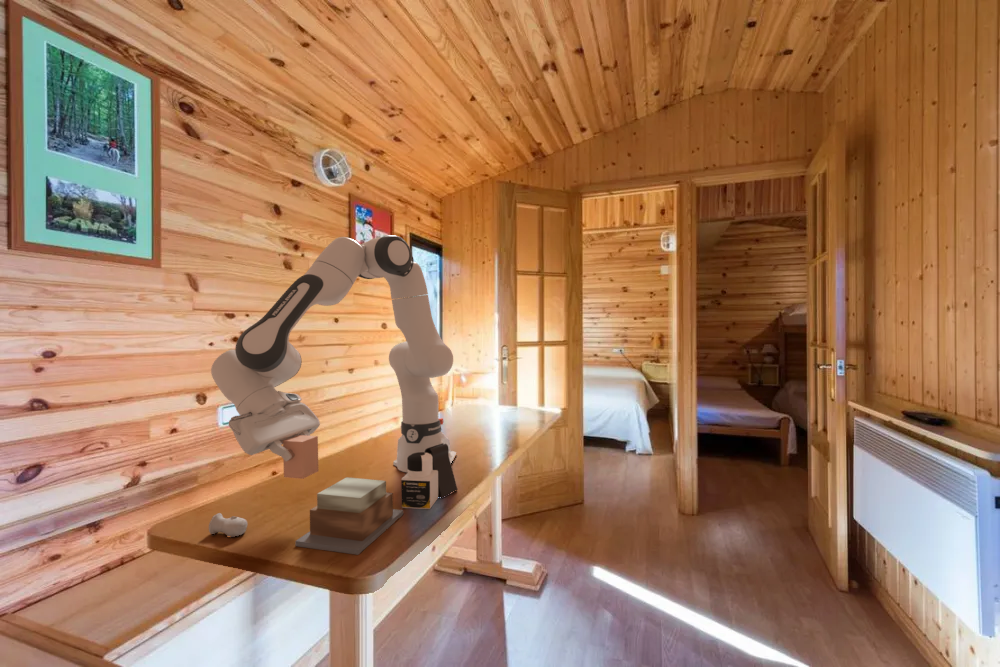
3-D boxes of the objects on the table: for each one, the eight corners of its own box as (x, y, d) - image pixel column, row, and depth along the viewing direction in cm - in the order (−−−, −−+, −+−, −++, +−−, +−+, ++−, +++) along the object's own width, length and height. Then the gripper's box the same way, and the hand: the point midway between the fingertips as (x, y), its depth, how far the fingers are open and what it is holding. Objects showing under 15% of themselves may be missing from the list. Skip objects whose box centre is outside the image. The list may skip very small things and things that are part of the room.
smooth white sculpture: (251, 538, 90) (230, 542, 85) (223, 531, 92) (201, 535, 88) (256, 516, 91) (236, 518, 86) (229, 510, 94) (208, 512, 89)
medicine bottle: (401, 508, 101) (400, 458, 101) (411, 496, 108) (411, 449, 108) (430, 509, 100) (429, 459, 100) (438, 498, 107) (438, 450, 107)
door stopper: (416, 491, 112) (416, 445, 112) (433, 484, 117) (432, 440, 116) (441, 499, 106) (441, 451, 106) (457, 491, 111) (457, 445, 111)
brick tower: (345, 510, 98) (345, 475, 98) (392, 515, 95) (392, 479, 95) (310, 534, 86) (309, 495, 86) (362, 541, 83) (361, 500, 83)
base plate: (349, 508, 101) (349, 504, 101) (403, 514, 97) (403, 510, 97) (295, 546, 84) (295, 540, 84) (358, 554, 80) (358, 549, 80)
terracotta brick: (299, 469, 98) (299, 435, 98) (318, 471, 97) (317, 436, 97) (283, 477, 93) (282, 440, 93) (303, 478, 92) (302, 441, 92)
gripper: (232, 408, 87) (273, 459, 84) (303, 393, 107) (337, 433, 104) (216, 429, 88) (256, 479, 86) (288, 410, 108) (322, 450, 105)
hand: (301, 454), depth 95 cm, fingers closed on terracotta brick, 5 cm apart
